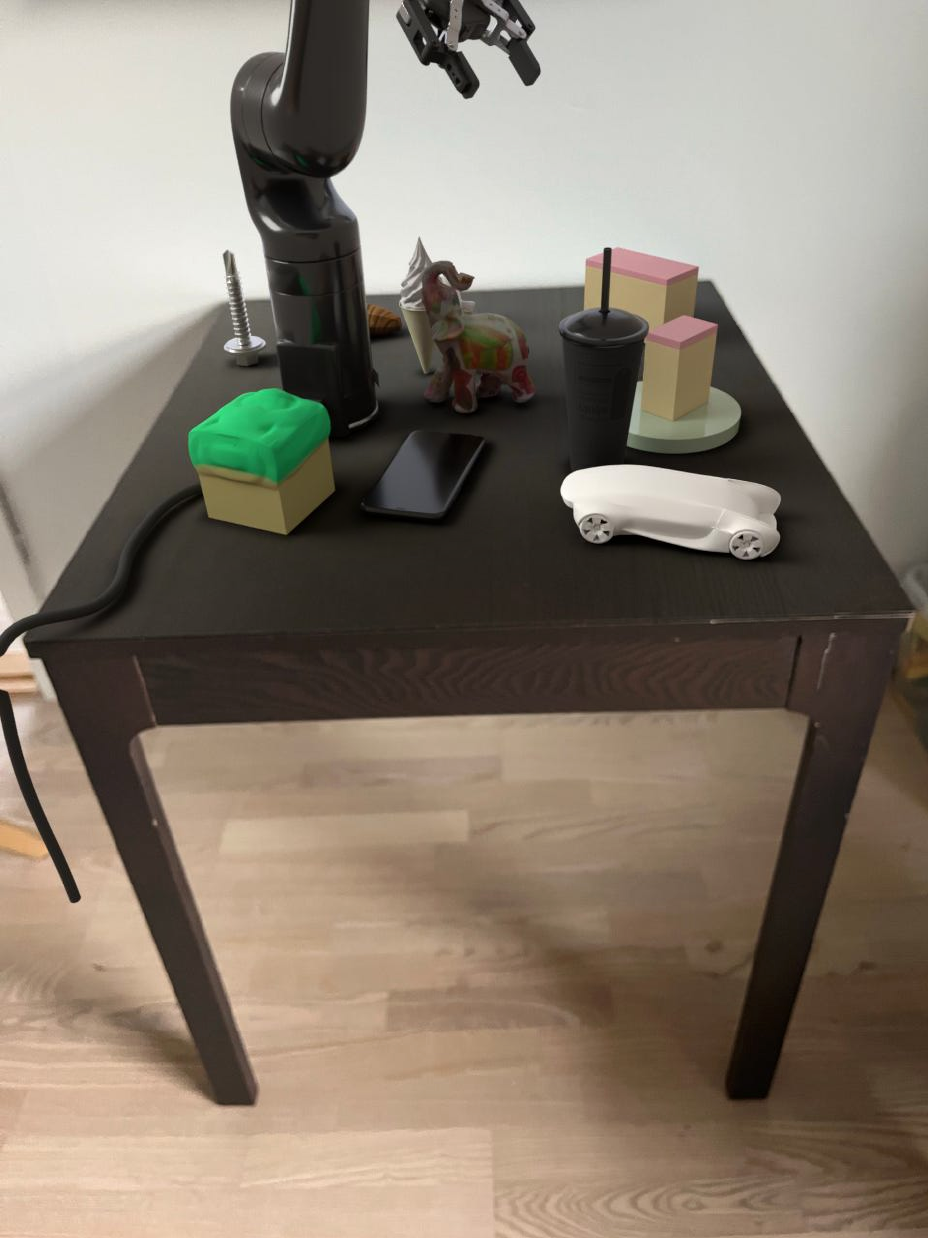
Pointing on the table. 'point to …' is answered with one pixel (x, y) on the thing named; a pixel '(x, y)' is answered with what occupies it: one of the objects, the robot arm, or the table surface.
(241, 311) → the screw
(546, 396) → the table surface
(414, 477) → the smartphone
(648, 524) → the toy car
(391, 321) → the croissant
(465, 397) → the figurine
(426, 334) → the ice cream cone
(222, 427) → the cake
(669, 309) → the cake
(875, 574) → the table surface
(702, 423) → the plate
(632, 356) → the drinking cup
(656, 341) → the cake slice
